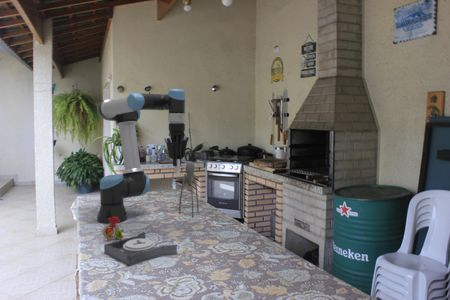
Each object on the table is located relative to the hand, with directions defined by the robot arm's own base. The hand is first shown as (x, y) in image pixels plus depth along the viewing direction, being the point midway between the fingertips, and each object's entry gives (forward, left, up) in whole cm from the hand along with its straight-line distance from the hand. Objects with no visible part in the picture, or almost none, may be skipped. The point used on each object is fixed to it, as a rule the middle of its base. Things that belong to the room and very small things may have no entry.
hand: (177, 172), depth 179 cm
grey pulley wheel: (+11, -29, -29) cm, 42 cm away
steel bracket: (+11, -28, -28) cm, 42 cm away
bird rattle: (-10, -28, -29) cm, 41 cm away
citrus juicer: (-20, +23, -29) cm, 42 cm away
